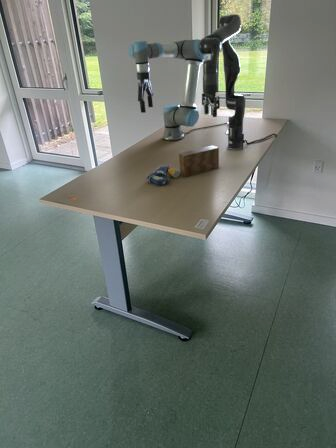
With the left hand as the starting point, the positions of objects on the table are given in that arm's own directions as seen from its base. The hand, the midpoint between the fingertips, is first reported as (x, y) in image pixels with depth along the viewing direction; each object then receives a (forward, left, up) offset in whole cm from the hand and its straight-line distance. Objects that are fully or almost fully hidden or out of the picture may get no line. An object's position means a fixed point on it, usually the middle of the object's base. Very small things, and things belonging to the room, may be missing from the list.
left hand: (147, 109), depth 203 cm
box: (-10, +40, -30) cm, 51 cm away
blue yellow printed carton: (+11, +37, -30) cm, 49 cm away
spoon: (-78, -16, -30) cm, 85 cm away
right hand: (-18, +41, 0) cm, 45 cm away
